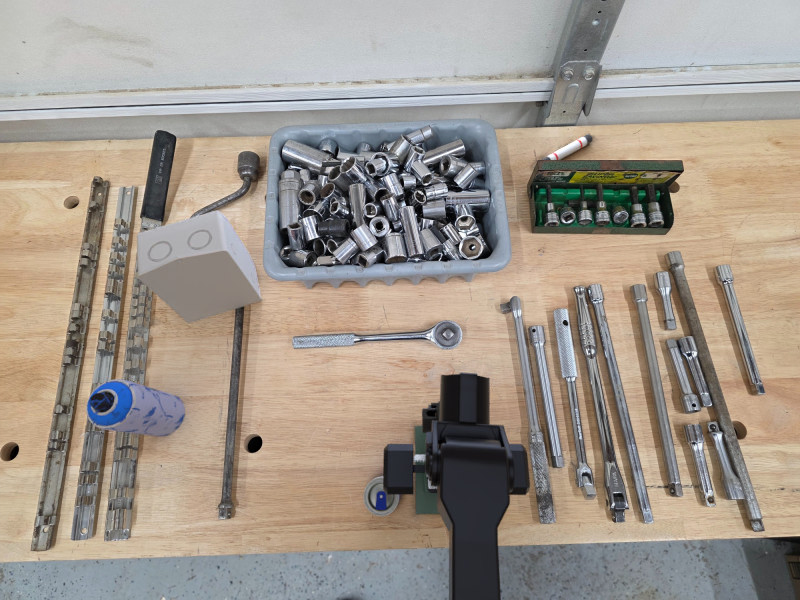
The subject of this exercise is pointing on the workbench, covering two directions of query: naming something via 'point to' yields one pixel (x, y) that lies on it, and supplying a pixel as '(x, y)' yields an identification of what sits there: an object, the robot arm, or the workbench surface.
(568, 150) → the marker
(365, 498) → the beverage can
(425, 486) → the press block
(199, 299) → the electrical switch box
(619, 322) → the workbench surface
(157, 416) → the aerosol can
